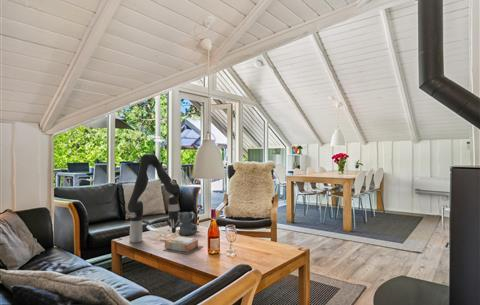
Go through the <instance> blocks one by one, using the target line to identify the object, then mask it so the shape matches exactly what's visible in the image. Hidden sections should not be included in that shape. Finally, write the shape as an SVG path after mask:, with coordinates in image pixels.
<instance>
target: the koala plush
mask: <svg viewBox="0 0 480 305" xmlns="http://www.w3.org/2000/svg"><path fill="white" fill-rule="evenodd" d="M194 217H195V213H194V211H190V212H186V211H185V212H179V216H178V218H179V221H181V223H180V225H179V226H178V227H180V230H179V229H178V234H179V235H182V236H189V235H190V236H191V235H194V234H195V233H196V232H197V230H198V225H197V223H193V222H192V220H193V218H194ZM178 227H177V228H178Z"/></svg>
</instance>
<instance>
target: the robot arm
mask: <svg viewBox="0 0 480 305" xmlns="http://www.w3.org/2000/svg"><path fill="white" fill-rule="evenodd" d="M149 166H152V167H154V169H155V170H156V175H157V178H158V179H159V180H160V181H161V183H162V184H163V188H164V189H165V191H166V192H167V193H168V194H171V195H170V196H169V197H168V219H166V223H167V224H168V227H169V228H171V233H172V234H176V232H177V228H178V226H179V225H180V224H181V223H182V222H181V220H179V218H178V216H179V213H180V212H179V196H180V190H181V189H180V187H181V186H180V185H179V184H178V183H175V182H174V183H172V178H171V176H169V174H168V173H167V171H166V170H165V169H164V167H163V166H162V164H161V162H160V159H159V158H158V157H157V155H156V154H155V153H151V152H150V153H143V155H142V156H141V159H140V163H139V169H138V173H137V177H136V179H135V183H134V187H133V189H132V194H131V196H130V198H129V201H128V203H127V211H128V212H129V213H133V215H131V216H130V218H129V220H130V222H129V226H130V227H129V231H128V232H129V242H130V243H134V244H135V243H136V244H137V243H141V242H142V241H143V216H144V203H143V202H142V200H140V199H139V198H140V197H141V196H142V194H143V193H144V192H145V191H146V189H147V187H148V183H149V177H148V174H147V172H148V168H149Z"/></svg>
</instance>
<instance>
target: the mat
mask: <svg viewBox="0 0 480 305" xmlns="http://www.w3.org/2000/svg"><path fill="white" fill-rule="evenodd" d="M202 248H204V246H203V245H198V247H196V248H194V249H192V250H190V251H188V252H184V251H178V250H171V249H165V248H164V249H163V252H168V253H169V252H170V253H174V254H181V255H187V256H189V255H190V254H192V253H195V252H196V251H198V250H200V249H202Z"/></svg>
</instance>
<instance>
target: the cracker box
mask: <svg viewBox="0 0 480 305" xmlns="http://www.w3.org/2000/svg"><path fill="white" fill-rule="evenodd" d="M166 240H167V241H164V250H165V249H171V250H178V251H184V252H188V251H190V250H192V249H194V248H196V247H198V246H199V239H198V238H190V237H183V236H174V237H172V238H169V239H166Z"/></svg>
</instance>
